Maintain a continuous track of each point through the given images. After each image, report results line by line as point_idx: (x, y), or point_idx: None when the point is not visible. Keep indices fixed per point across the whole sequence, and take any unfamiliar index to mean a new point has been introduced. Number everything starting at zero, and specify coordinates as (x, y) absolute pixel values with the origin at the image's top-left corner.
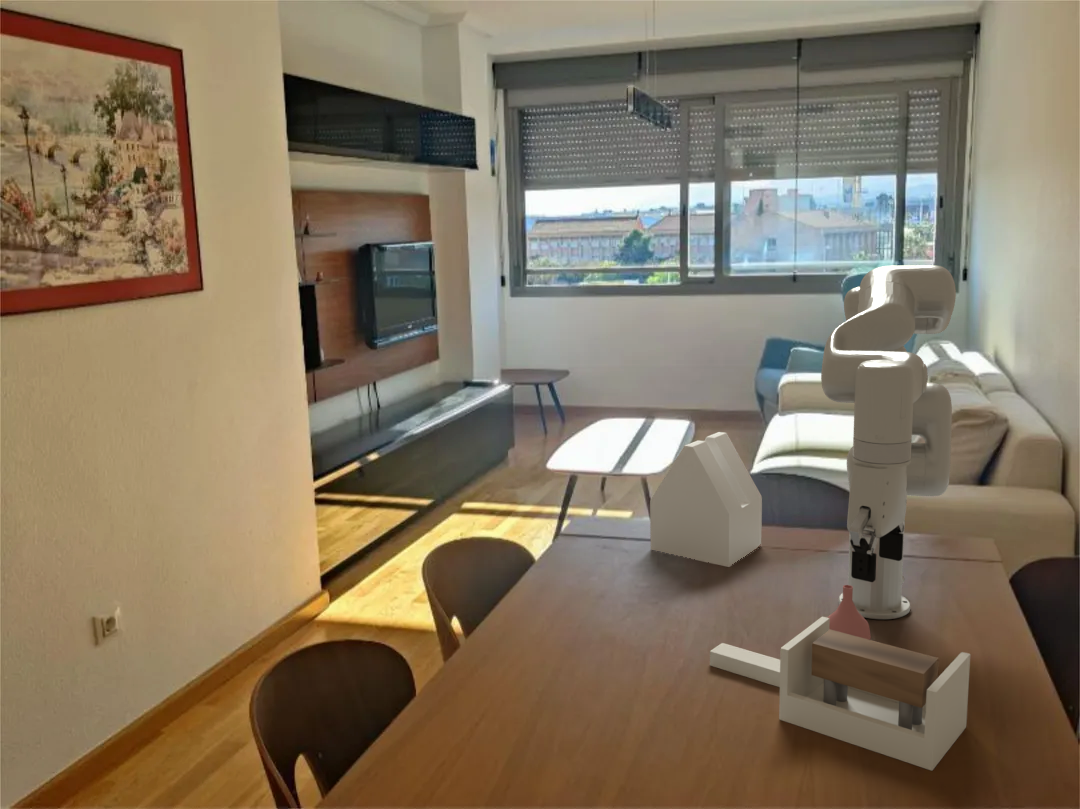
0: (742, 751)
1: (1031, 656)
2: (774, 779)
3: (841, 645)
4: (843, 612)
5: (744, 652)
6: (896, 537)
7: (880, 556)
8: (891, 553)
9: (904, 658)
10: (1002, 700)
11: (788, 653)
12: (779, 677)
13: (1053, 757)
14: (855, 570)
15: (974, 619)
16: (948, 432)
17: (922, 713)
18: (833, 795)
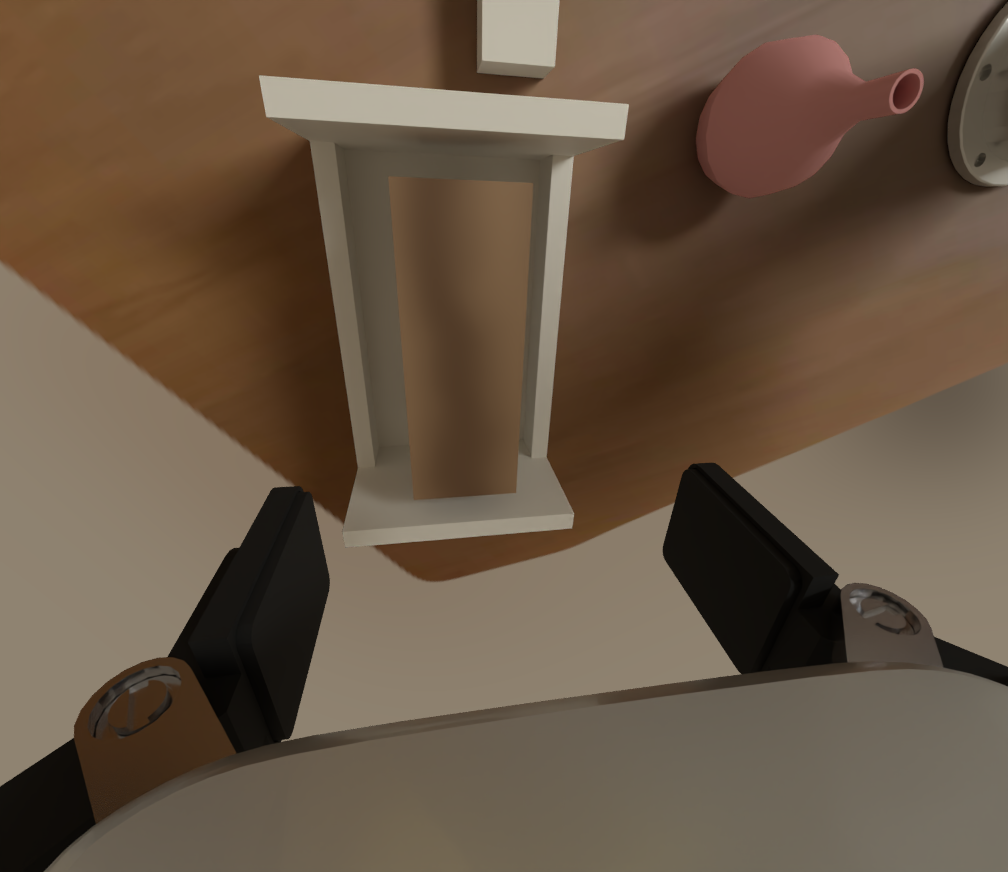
0: (111, 111)
1: (820, 440)
2: (89, 243)
3: (436, 273)
4: (802, 108)
5: None
6: (741, 650)
7: (683, 473)
8: (687, 541)
9: (466, 441)
10: (649, 454)
11: (274, 119)
12: (480, 28)
13: (516, 546)
14: (225, 560)
15: (964, 318)
16: None
17: None
18: (156, 363)
